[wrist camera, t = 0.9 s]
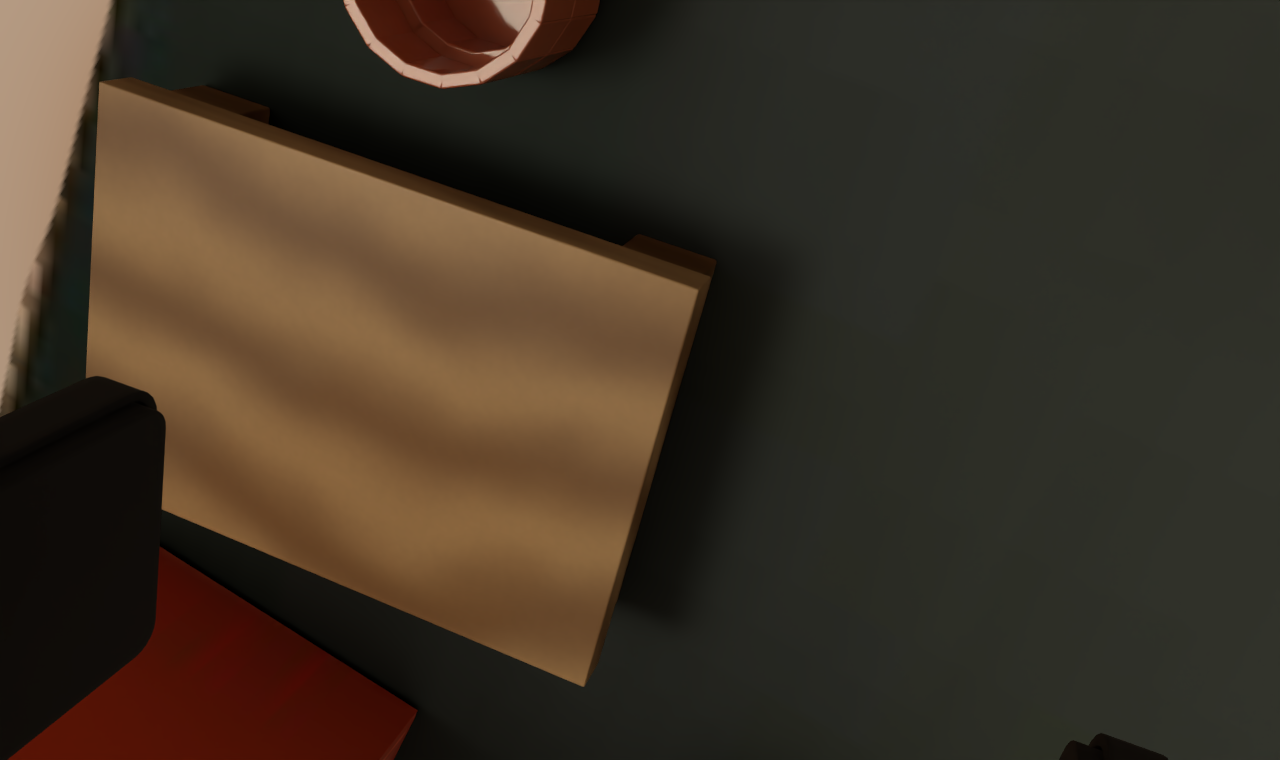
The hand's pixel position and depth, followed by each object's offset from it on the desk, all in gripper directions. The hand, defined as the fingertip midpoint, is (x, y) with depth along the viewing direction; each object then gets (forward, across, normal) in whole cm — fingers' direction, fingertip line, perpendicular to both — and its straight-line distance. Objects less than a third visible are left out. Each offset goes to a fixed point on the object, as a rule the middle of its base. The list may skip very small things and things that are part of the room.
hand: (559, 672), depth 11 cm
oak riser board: (+29, +15, +11) cm, 35 cm away
